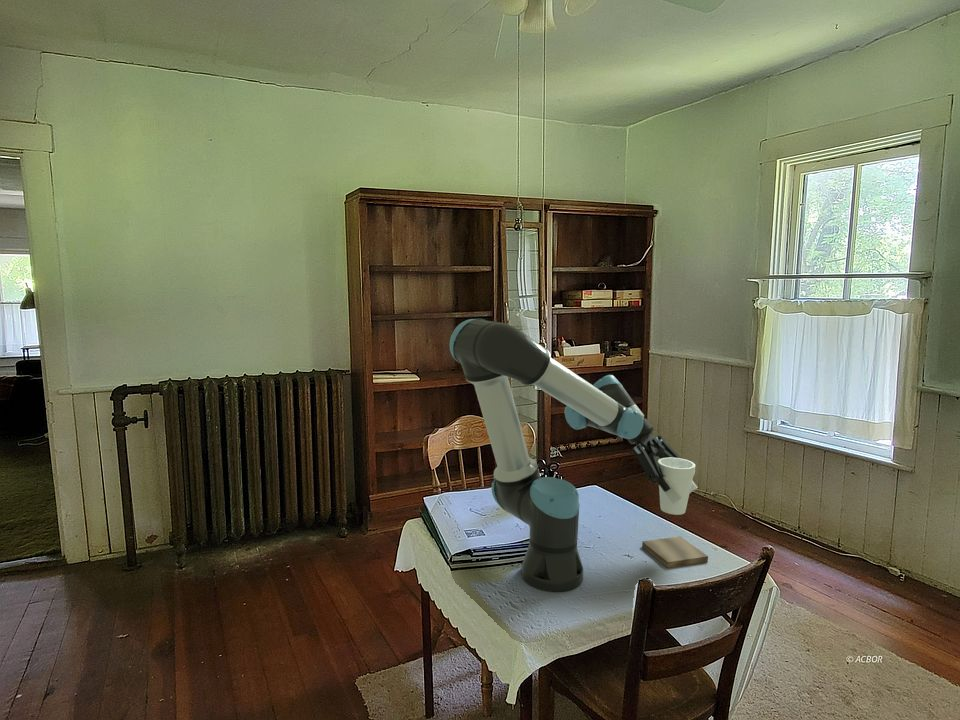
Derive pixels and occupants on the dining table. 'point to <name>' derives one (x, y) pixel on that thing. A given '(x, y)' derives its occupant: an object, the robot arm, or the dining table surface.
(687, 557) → the walnut coaster
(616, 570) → the dining table surface
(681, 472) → the foam cup
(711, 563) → the dining table surface
